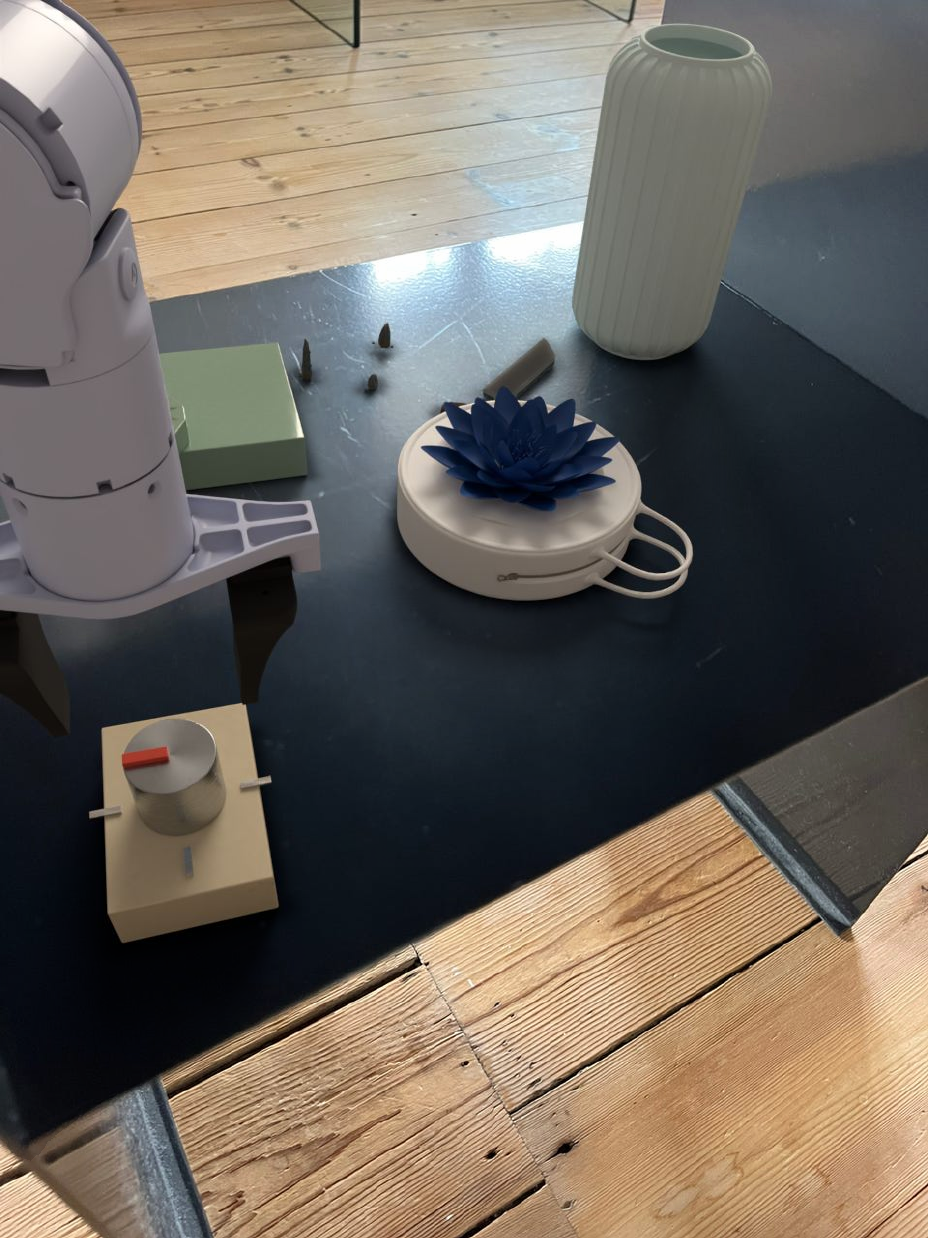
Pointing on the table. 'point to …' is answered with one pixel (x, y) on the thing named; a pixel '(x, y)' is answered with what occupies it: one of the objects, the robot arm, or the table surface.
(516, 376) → the knife
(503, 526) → the round zippered pouch
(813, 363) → the table surface
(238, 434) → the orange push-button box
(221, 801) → the dial
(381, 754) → the table surface
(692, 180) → the vase
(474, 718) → the table surface
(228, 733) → the beige rotary knob box
